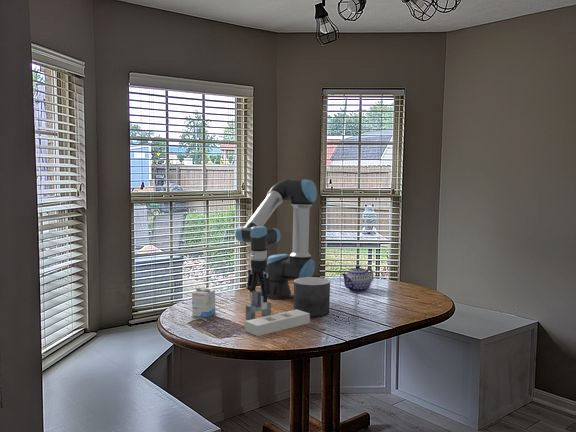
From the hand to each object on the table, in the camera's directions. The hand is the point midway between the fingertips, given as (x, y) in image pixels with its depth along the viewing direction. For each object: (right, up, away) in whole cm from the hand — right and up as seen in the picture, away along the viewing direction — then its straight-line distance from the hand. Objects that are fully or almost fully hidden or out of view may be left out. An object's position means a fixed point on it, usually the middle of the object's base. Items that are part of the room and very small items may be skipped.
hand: (258, 307), depth 247 cm
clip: (0, -5, 0) cm, 5 cm away
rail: (+10, -6, -14) cm, 18 cm away
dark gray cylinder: (+26, -5, +11) cm, 28 cm away
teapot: (+55, -1, +58) cm, 80 cm away
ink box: (-27, -5, +5) cm, 28 cm away
